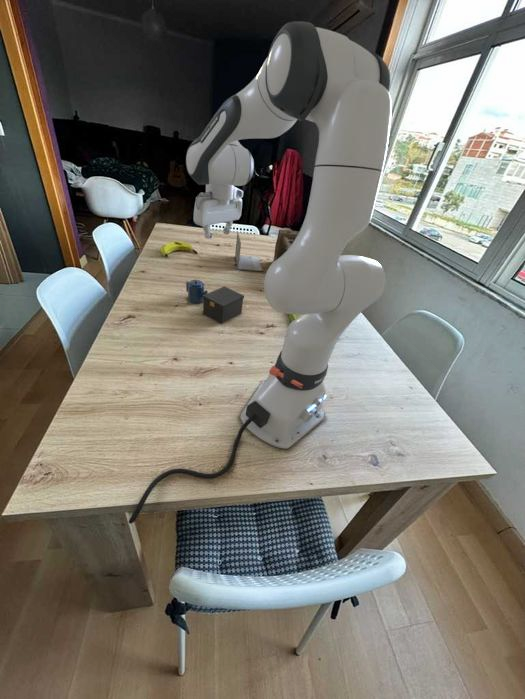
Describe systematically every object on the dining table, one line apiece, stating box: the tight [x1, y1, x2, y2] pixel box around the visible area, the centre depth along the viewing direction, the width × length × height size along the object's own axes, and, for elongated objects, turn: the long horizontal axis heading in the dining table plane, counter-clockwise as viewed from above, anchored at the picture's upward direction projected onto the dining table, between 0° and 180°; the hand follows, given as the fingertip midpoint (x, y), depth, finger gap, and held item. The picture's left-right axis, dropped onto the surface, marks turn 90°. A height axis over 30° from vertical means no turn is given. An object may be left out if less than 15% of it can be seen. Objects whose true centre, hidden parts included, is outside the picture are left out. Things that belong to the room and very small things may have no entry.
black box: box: [202, 286, 245, 324], centre depth 105 cm, size 12×10×7 cm
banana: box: [160, 240, 198, 258], centre depth 146 cm, size 5×17×15 cm
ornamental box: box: [272, 229, 300, 262], centre depth 141 cm, size 35×18×18 cm, turn 7°
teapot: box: [185, 279, 209, 305], centre depth 110 cm, size 11×6×8 cm, turn 55°
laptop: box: [234, 231, 264, 272], centre depth 146 cm, size 18×12×13 cm
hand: (217, 235), depth 101 cm, fingers open, 8 cm apart
